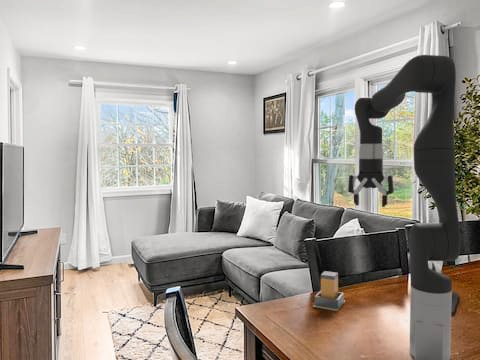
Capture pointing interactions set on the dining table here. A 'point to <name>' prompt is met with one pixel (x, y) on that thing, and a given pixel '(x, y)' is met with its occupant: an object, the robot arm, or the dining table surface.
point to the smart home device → (454, 302)
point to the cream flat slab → (328, 308)
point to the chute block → (329, 285)
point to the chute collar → (329, 301)
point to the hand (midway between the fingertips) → (370, 206)
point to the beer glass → (435, 265)
